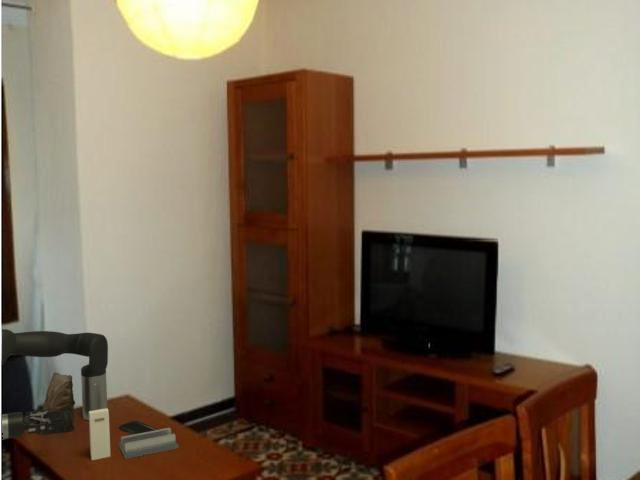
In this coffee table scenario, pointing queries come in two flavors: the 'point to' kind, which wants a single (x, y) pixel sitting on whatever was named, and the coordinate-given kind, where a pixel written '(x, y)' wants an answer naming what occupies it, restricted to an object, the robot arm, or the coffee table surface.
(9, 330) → the robot arm
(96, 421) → the door leaf
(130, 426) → the phone
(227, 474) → the coffee table surface
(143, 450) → the floor track
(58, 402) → the owl
